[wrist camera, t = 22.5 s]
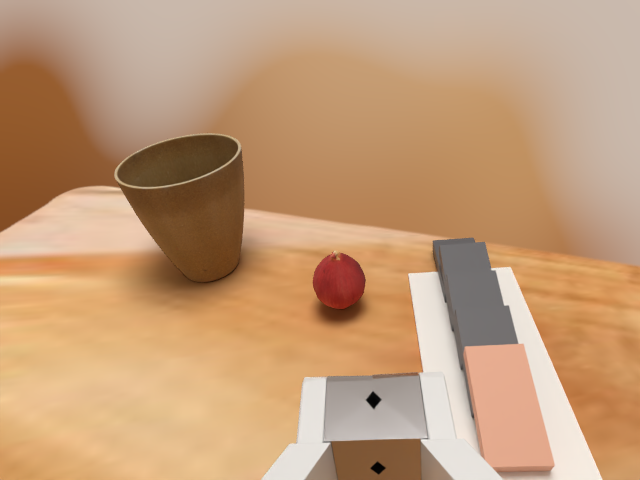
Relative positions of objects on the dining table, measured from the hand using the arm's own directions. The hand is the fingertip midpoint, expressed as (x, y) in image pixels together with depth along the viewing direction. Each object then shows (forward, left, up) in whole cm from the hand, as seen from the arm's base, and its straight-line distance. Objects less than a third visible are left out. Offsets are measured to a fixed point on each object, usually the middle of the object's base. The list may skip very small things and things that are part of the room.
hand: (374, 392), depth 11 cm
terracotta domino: (+10, +16, -29) cm, 34 cm away
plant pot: (-22, +47, -30) cm, 60 cm away
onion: (-4, +37, -30) cm, 48 cm away
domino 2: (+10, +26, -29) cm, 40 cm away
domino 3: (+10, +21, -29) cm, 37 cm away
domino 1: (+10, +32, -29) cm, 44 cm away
